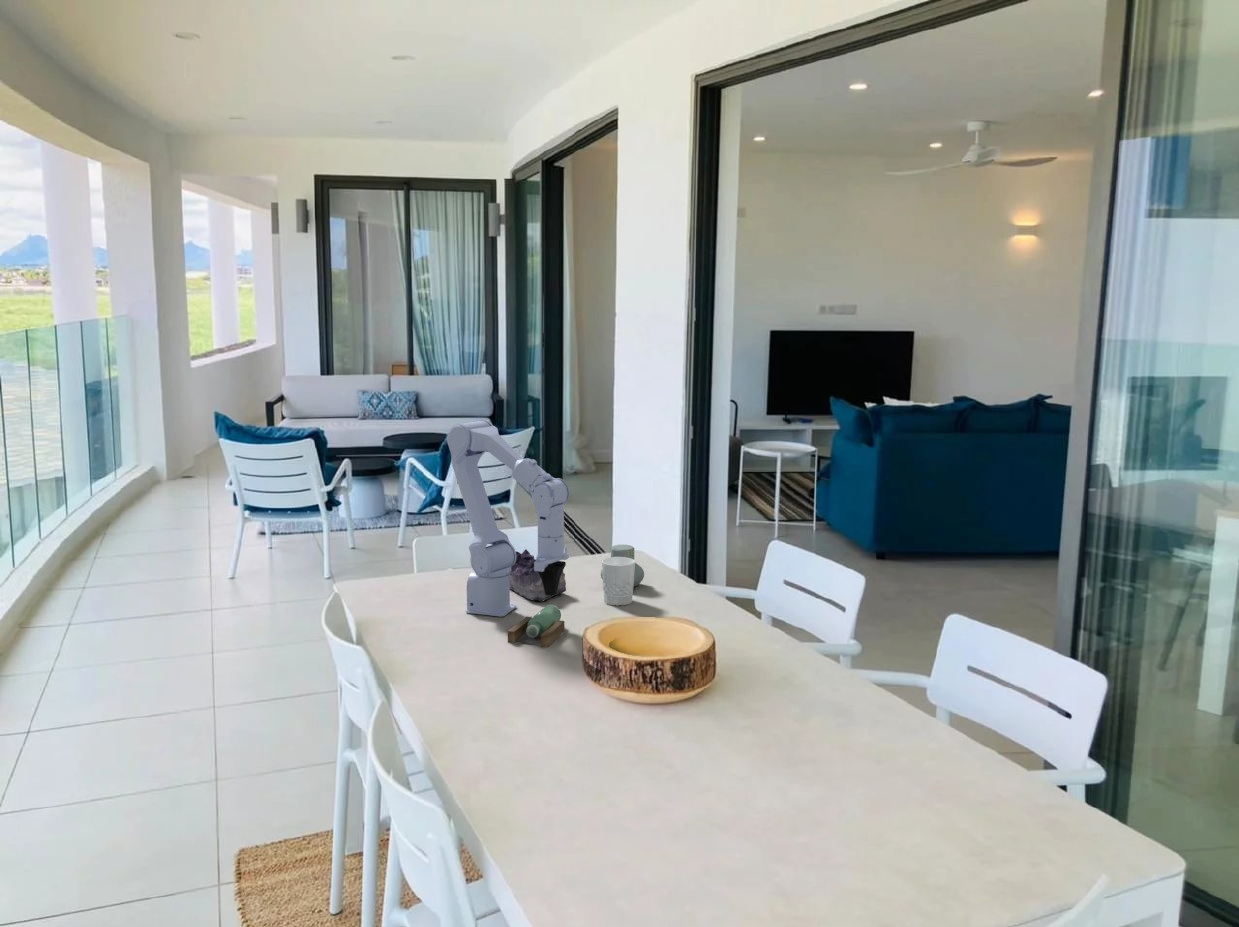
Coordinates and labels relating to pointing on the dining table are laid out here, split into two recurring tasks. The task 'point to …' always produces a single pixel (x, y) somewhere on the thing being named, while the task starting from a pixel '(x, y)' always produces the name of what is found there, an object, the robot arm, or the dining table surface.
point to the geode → (530, 578)
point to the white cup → (618, 580)
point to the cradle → (546, 639)
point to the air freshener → (628, 553)
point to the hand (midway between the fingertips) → (550, 594)
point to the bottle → (543, 620)
